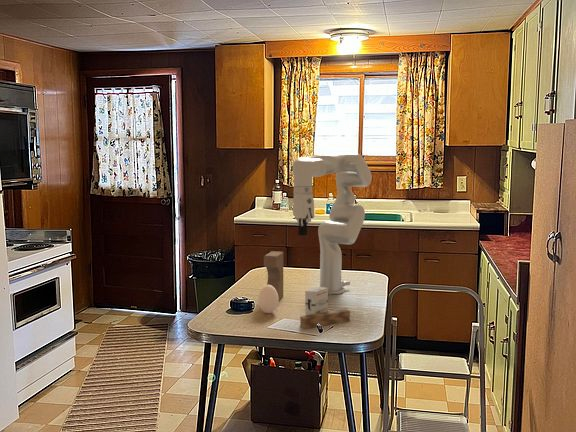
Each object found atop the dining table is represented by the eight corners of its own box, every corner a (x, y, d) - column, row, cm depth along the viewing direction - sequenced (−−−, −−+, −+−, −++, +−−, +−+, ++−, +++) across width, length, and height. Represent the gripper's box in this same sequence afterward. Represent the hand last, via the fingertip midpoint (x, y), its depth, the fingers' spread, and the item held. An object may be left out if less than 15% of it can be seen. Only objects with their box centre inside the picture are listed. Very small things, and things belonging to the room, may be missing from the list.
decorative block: (276, 303, 251) (275, 256, 248) (263, 302, 253) (262, 255, 250) (284, 297, 262) (284, 251, 259) (271, 295, 263) (271, 250, 261)
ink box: (317, 315, 235) (318, 285, 234) (328, 317, 232) (328, 287, 231) (304, 320, 229) (304, 290, 227) (315, 323, 226) (315, 292, 224)
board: (345, 318, 231) (345, 308, 230) (349, 320, 228) (349, 310, 228) (300, 326, 221) (300, 316, 220) (304, 329, 218) (304, 318, 218)
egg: (263, 317, 233) (263, 288, 231) (255, 311, 240) (254, 283, 238) (282, 314, 236) (282, 285, 235) (273, 309, 243) (273, 281, 242)
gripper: (320, 191, 239) (320, 237, 242) (301, 188, 252) (301, 231, 255) (304, 192, 236) (304, 238, 238) (285, 189, 249) (285, 233, 251)
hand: (302, 235), depth 246 cm, fingers closed
